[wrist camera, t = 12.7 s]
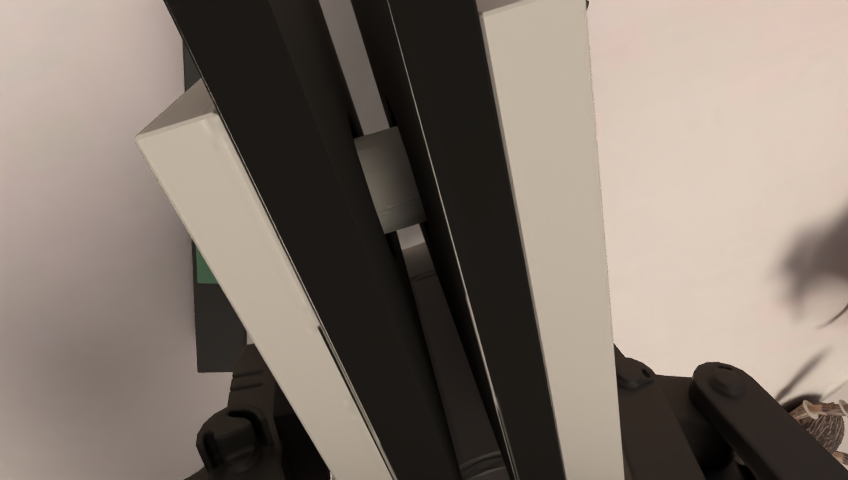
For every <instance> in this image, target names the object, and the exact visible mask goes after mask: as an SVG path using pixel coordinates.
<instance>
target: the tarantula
mask: <svg viewBox="0 0 848 480" xmlns="http://www.w3.org/2000/svg"><path fill="white" fill-rule="evenodd" d="M789 414H790V415H791V416H792V417H793V418H794V419H795V420H796V421H797V422H798V423H799V424H801V425H802V426H803V427H804V428H805V429H806V430H807V431H808V432H809V433H810V434H811V435H812V436H813V437H814V438H815V439H816V440H817V441H818V442H819V443H820V444H821V445H822V446H823V447H824V448H825V449H826V450H827V451H828V452H829V453H830V454H831V455H832V456H833V457H834V458H836V459H837V460H838V461H839V462H840V463H843V464H845V465H848V454H846V453H843V452H839V451H836V450H837V448H838V447H839V445H840V444H841V442H842V439H843V436H844V421H843V418H842V416H847V417H848V404H847V403H846V402H845V401H843V400H839V404H834V403H833V402H832V403H828V404H827V403H821V402H812V403H810V402H809V401H807V400H804V401H803V404H801V405H800V406H799V407H797V408H795V409H794V410H793V411H791V412H789Z"/></svg>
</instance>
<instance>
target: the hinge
mask: <svg viewBox="0 0 848 480" xmlns="http://www.w3.org/2000/svg"><path fill="white" fill-rule="evenodd" d="M350 1H351V4H352V7H353V10H354V14H355V17H356V20H357V23H358V27H359V30H360V33H361V36H362V40H363V43H364V46H365V50H366V53H367V56H368V59H369V63H370V66H371V69H372V72H373V76H374V79H375V82H376V85H377V89H378V92H379V95H380V98H381V102H382V105H383V108H384V111H385V115H386V118H387V121H388V125H389V128H388V129H385V130H382V131H378V132H375V133H372V134H368V135H365V136H364V133H363V130H362V127H361V124H360V121H359V118H358V115H357V112H356V109H355V106H354V103H353V100H352V97H351V94H350V91H349V88H348V85H347V82H346V79H345V76H344V74H343V71H342V68H341V65H340V62H339V59H338V56H337V53H336V50H335V47H334V44H333V41H332V38H331V35H330V32H329V29H328V26H327V23H326V20H325V17H324V14H323V11H322V8H321V5H320V2H319V0H164V3H165V5H166V7H167V9H168V11H169V13H170V15H171V17H172V19H173V21H174V23H175V25H176V27H177V29H178V31H179V33H180V35H181V38H182V40H183V42H184V44H185V46H186V48H187V50H188V52H189V54H190V56H191V58H192V60H193V62H194V64H195V66H196V68H197V70H198V73H199V75H200V77H201V79H200V80H198V81H197V82H196V83H195V84H194V85H193V86H192V87H191V88H189V89H188V90H187V91H186V92H185V93H184V94H183V95H182V96H180V97H179V98H178V99H177V100H176V101H175V102H174V103H173V104H171V105H170V106H169V107H168V108H167V109H166V110H165V111H164V112H162V113H161V114H160V115H159V116H158V117H157V118H156V119H154V120H153V121H152V122H151V123H150V124H149V125H148V126H147V127H145V128H144V129H143V130H142V131H141V132H140V133H139V134H138V135H136V137H135V140H134V142H135V143H136V145H137V147H138V148H139V150H140V152H141V153H142V155H143V157H144V158H145V160H146V162H147V164H148V165H149V167H150V169H151V170H152V172H153V174H154V175H155V177H156V179H157V180H158V182H159V184H160V185H161V187H162V189H163V190H164V192H165V194H166V196H167V197H168V199H169V201H170V202H171V204H172V206H173V207H174V209H175V211H176V212H177V214H178V216H179V217H180V219H181V221H182V222H183V224H184V226H185V228H186V229H187V231H188V233H189V234H190V236H191V238H192V239H193V241H194V243H195V244H196V246H197V248H198V249H199V251H200V253H201V255H202V256H203V258H204V260H205V261H206V263H207V265H208V266H209V268H210V270H211V271H212V273H213V275H214V276H215V278H216V280H217V281H218V283H219V285H220V287H221V288H222V290H223V292H224V293H225V295H226V297H227V298H228V300H229V302H230V303H231V305H232V307H233V308H234V310H235V312H236V313H237V315H238V317H239V319H240V320H241V322H242V324H243V325H244V327H245V329H246V330H247V332H248V334H249V335H250V337H251V339H252V340H253V342H254V344H255V346H256V347H257V349H258V351H259V352H260V354H261V356H262V357H263V359H264V361H265V362H266V364H267V366H268V367H269V369H270V371H271V372H272V374H273V376H274V378H275V379H276V381H277V383H278V384H279V386H280V388H281V389H282V391H283V393H284V394H285V396H286V398H287V399H288V401H289V403H290V404H291V406H292V408H293V410H294V411H295V413H296V415H297V416H298V418H299V420H300V421H301V423H302V425H303V426H304V428H305V430H306V431H307V433H308V435H309V436H310V438H311V440H312V442H313V443H314V445H315V447H316V448H317V450H318V452H319V453H320V455H321V457H322V458H323V460H324V462H325V463H326V465H327V467H328V469H329V470H330V472H331V474H332V480H625V479H624V467H623V454H622V442H621V430H620V417H619V405H618V393H617V380H616V368H615V356H614V343H613V331H612V319H611V306H610V294H609V282H608V270H607V257H606V245H605V233H604V220H603V208H602V196H601V183H600V171H599V159H598V146H597V134H596V122H595V109H594V97H593V85H592V72H591V60H590V48H589V36H588V23H587V11H586V0H350ZM416 224H419V226H420V228H421V231H422V234H423V237H424V240H425V242H424V243H421V244H418V245H415V246H412V247H409V248H406V249H403V250H402V249H401V245H400V242H399V238H398V234H397V231H396V230H400V229H403V228H406V227H409V226H413V225H416Z"/></svg>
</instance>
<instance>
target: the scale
mask: <svg viewBox="0 0 848 480" xmlns="http://www.w3.org/2000/svg"><path fill="white" fill-rule="evenodd" d="M319 2H320V5H321V8H322V11H323V14H324V17H325V20H326V23H327V26H328V29H329V32H330V35H331V38H332V41H333V44H334V47H335V50H336V53H337V56H338V59H339V62H340V65H341V68H342V71H343V74H344V76H345V79H346V82H347V85H348V88H349V91H350V94H351V97H352V100H353V103H354V106H355V109H356V112H357V115H358V118H359V121H360V124H361V127H362V130H363V133H364V136H365V135H368V134H372V133H375V132H378V131H382V130H385V129H388V128H389V125H388V121H387V118H386V115H385V111H384V108H383V105H382V102H381V98H380V95H379V92H378V89H377V85H376V82H375V79H374V76H373V72H372V69H371V66H370V63H369V59H368V56H367V53H366V50H365V46H364V43H363V40H362V36H361V33H360V30H359V27H358V23H357V20H356V17H355V14H354V10H353V7H352V4H351V1H350V0H319ZM588 5H589V1H588V0H586V11H587V8H588ZM183 62H184V84H185V92H186V91H187V90H188V89H189V88H191V87H192V86H193V85H194V84H195V83H196V82H197V81H198V80H200V79H201V77H200V75H199V73H198V70H197V68H196V66H195V64H194V62H193V60H192V58H191V56H190V54H189V52H188V50H187V48H186V46H185V44H184V42H183ZM396 231H397V234H398V238H399V242H400V245H401V249H402V250H403V249H406V248H409V247H412V246H415V245H418V244H421V243H424V242H425V240H424V237H423V234H422V231H421V228H420V226H419V224H416V225H413V226H409V227H406V228H403V229H400V230H396ZM191 239H192V238H191ZM192 261H193V283H194V305H195V327H196V349H197V371H198V372H199V373H204V372H233V369H234V363H235V359H236V358H237V356H238V355H239V353H240V352H241V350H242V349H243V348H244V346H245V345H247V344H253V343H254V342H253V340H252V339H251V337H250V335H249V334H248V332H247V330H246V329H245V327H244V325H243V324H242V322H241V320H240V319H239V317H238V315H237V313H236V312H235V310H234V308H233V307H232V305H231V303H230V302H229V300H228V298H227V297H226V295H225V293H224V292H223V290H222V288H221V287H220V285H219V283H218V281H217V280H216V278H215V276H214V275H213V273H212V271H211V270H210V268H209V266H208V265H207V263H206V261H205V260H204V258H203V256H202V255H201V253H200V251H199V249H198V248H197V246H196V244H195V243H194V241H193V239H192Z"/></svg>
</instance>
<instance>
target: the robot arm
mask: <svg viewBox="0 0 848 480" xmlns="http://www.w3.org/2000/svg"><path fill="white" fill-rule="evenodd" d="M614 356H615V368H616V380H617V393H618V405H619V417H620V430H621V442H622V454H623V467H624V479H625V480H848V470H847V469H846V468H845V467H844V466H843V465H842V464H841V463H840V462H839V461H838V460H837V459H836V458H834V457H833V456H832V455H831V454H830V453H829V452H828V451H827V450H826V449H825V448H824V447H823V446H822V445H821V444H820V443H819V442H818V441H817V440H816V439H815V438H814V437H813V436H812V435H811V434H810V433H809V432H808V431H807V430H806V429H805V428H804V427H803V426H802V425H801V424H799V423H798V422H797V421H796V420H795V419H794V418H793V417H792V416H791V415H790V414H789V413H788V412H787V411H786V410H785V409H784V408H783V407H782V406H781V405H780V404H779V403H778V402H777V401H776V400H775V399H774V398H773V397H772V396H771V395H770V394H769V393H768V392H767V391H765V390H764V389H763V388H762V387H761V386H760V385H759V384H758V383H757V382H756V381H755V380H754V379H753V378H752V377H751V376H749V375H748V374H747V373H745V372H744V371H743V370H740V369H738V368H736V367H734V366H732V365H729V364H724V363H720V362H706V363H704V364H701V365H699V366H698V367H697V368H696V370H695V371H694V373H693V376H692V378H691V377H676V376H663V375H656V374H655V373H654V372H653V371H652V369H650V368H649V367H648V366H646V365H645V364H643V363H642V362H639V361H637V360H634V359H632V358H626V357H624V355H623V354H622V353H621V352H620V350H619V349H618V348H617V347H616V345H615V344H614ZM232 376H233V379H232V381H231V387H230V390H231V392H230V393H229V400H228V406H227V407H226V408H225V409H223V410H221V411H219V412H217V413H215V414H214V415H213V416H211V417H210V418H209V419H208V420H207V421H206V422H205V423H204V424H203V426H202V427H201V429H200V431H199V432H198V434H197V441H196V447H197V449H198V451H199V454H200V456H201V458H202V461H203V463H204V465H205V467H203V468H202V469H201V470H200V471H198V472H197V473H195V474H193V475H192V476H190V477H188V478H186V479H184V480H330V470H329V469H328V467H327V465H326V463H325V462H324V460H323V458H322V457H321V455H320V453H319V452H318V450H317V448H316V447H315V445H314V443H313V442H312V440H311V438H310V436H309V435H308V433H307V431H306V430H305V428H304V426H303V425H302V423H301V421H300V420H299V418H298V416H297V415H296V413H295V411H294V410H293V408H292V406H291V404H290V403H289V401H288V399H287V398H286V396H285V394H284V393H283V391H282V389H281V388H280V386H279V384H278V383H277V381H276V379H275V378H274V376H273V374H272V372H271V371H270V369H269V367H268V366H267V364H266V362H265V361H264V359H263V357H262V356H261V354H260V352H259V351H258V349H257V347H256V346H255V344H254V343H253V344H247V345H245V346H244V348H243V349H242V350H241V352H240V353H239V355H238V356H237V358H236V359H235V363H234V369H233V375H232Z"/></svg>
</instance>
